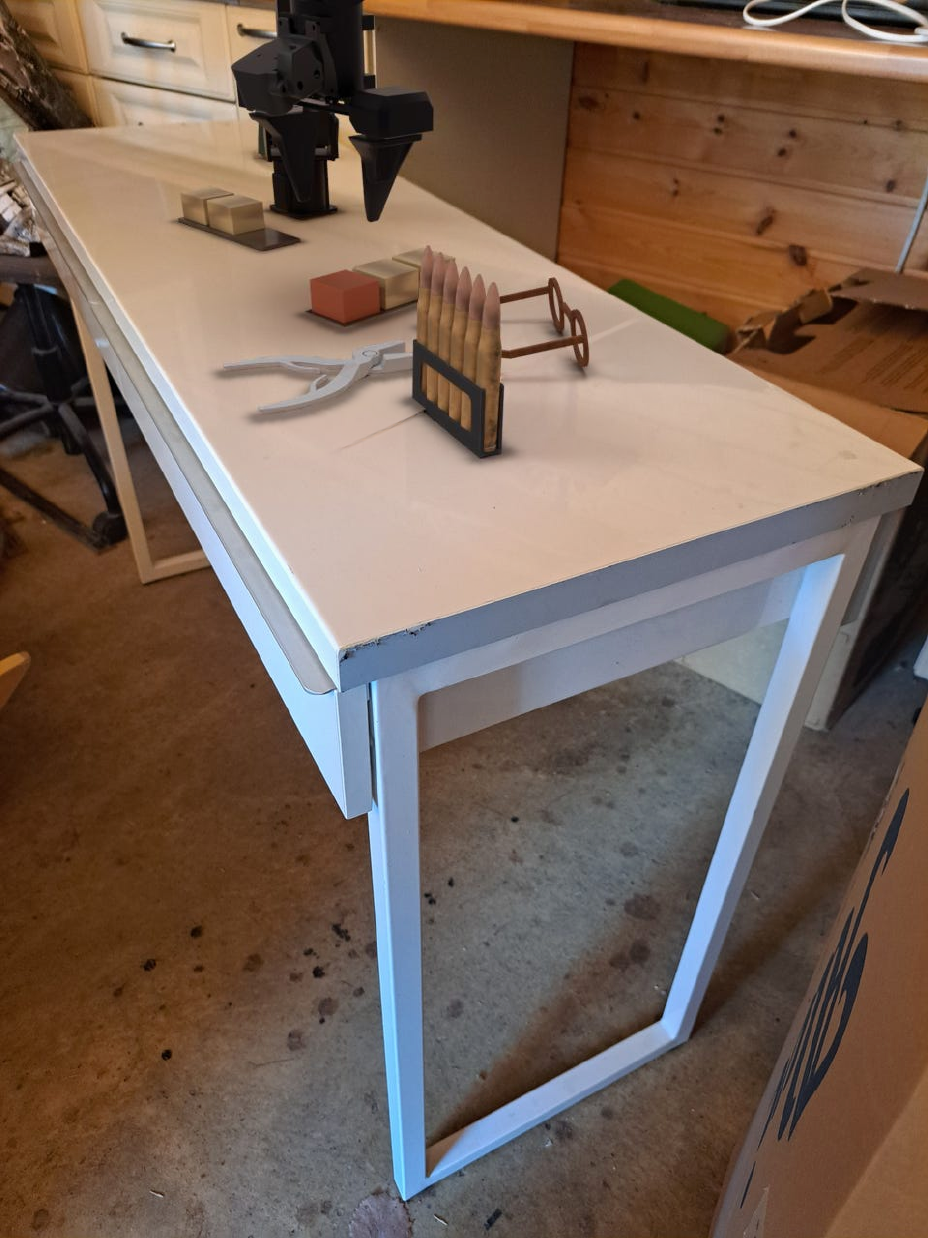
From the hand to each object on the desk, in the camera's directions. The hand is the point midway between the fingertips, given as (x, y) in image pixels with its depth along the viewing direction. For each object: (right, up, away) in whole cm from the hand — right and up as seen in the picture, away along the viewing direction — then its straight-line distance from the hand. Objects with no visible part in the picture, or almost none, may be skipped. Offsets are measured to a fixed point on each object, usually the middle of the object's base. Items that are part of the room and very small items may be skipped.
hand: (337, 210), depth 78 cm
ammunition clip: (+11, -22, -12) cm, 27 cm away
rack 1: (-16, +10, +27) cm, 33 cm away
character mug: (-18, +36, +59) cm, 72 cm away
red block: (0, -7, +6) cm, 9 cm away
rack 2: (+4, -5, +9) cm, 11 cm away
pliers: (0, -17, -6) cm, 18 cm away
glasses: (+15, -13, 0) cm, 19 cm away
